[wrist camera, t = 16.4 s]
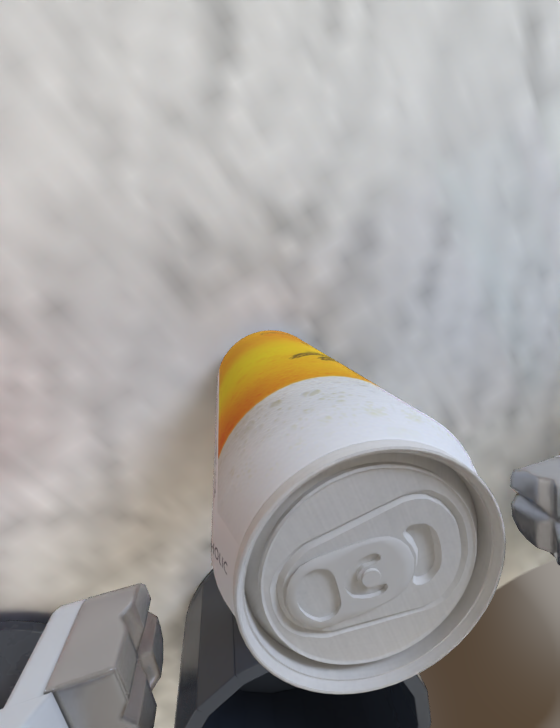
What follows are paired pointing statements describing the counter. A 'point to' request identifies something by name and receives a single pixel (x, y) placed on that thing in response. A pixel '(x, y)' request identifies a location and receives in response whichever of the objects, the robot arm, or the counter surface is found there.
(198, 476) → the counter surface
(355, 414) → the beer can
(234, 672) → the pot
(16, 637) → the pot lid
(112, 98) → the counter surface
